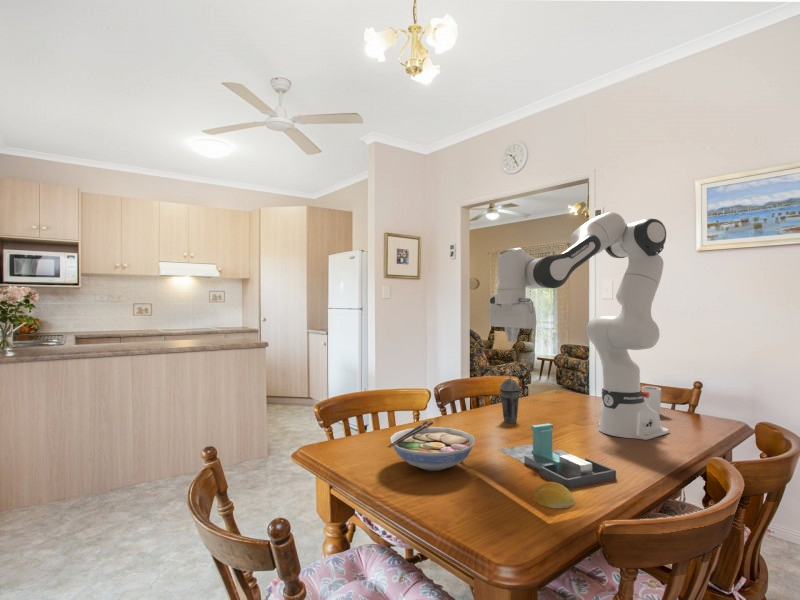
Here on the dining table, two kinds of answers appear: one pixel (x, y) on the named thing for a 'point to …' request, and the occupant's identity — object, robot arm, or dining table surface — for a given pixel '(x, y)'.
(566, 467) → the beige cube
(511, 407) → the beverage cup
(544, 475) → the tray
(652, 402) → the drinking glass
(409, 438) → the ramen bowl
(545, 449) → the rake tool
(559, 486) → the bread roll
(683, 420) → the dining table surface
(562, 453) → the slot board
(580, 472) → the chip
